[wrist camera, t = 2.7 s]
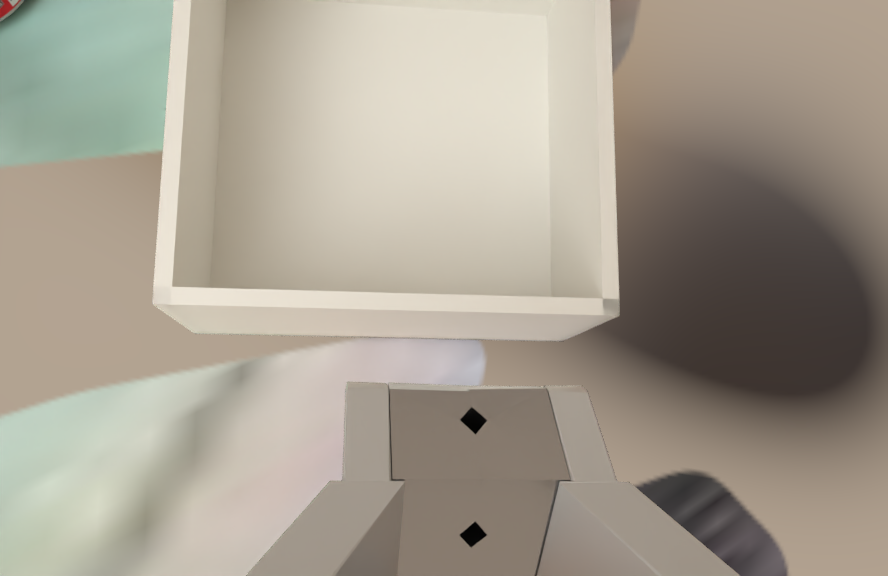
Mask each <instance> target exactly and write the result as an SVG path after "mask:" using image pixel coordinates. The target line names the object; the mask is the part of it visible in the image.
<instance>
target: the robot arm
mask: <svg viewBox="0 0 888 576" xmlns="http://www.w3.org/2000/svg"><path fill="white" fill-rule="evenodd" d="M246 576H740V575H739V574H737V573H736V572H735V571H734V570H733V569H732V568H730V567H729V566H728V565H727V564H726V563H724V562H723V561H722V560H721V559H720V558H719V557H717V556H716V555H715V554H714V553H713V552H711V551H710V550H709V549H708V548H707V547H706V546H704V545H703V544H702V543H701V542H700V541H698V540H697V539H696V538H695V537H694V536H693V535H691V534H690V533H689V532H688V531H687V530H685V529H684V528H683V527H682V526H681V525H679V524H678V523H677V522H676V521H675V520H674V519H672V518H671V517H670V516H669V515H668V514H666V513H665V512H664V511H663V510H662V509H661V508H659V507H658V506H657V505H656V504H655V503H653V502H652V501H651V500H650V499H649V498H648V497H646V496H645V495H644V494H643V493H642V492H640V491H639V490H638V489H637V488H636V487H634V486H633V485H632V484H631V483H630V482H617V479H616V476H615V473H614V470H613V467H612V464H611V460H610V457H609V454H608V451H607V448H606V446H605V442H604V439H603V436H602V433H601V430H600V427H599V424H598V421H597V418H596V415H595V412H594V409H593V406H592V403H591V400H590V396H589V393H588V391H587V390H586V389H585V388H584V387H583V386H544V387H540V386H461V385H436V384H411V383H388V386H387V384H386V383H367V382H347V385H346V390H345V417H344V446H343V476H342V481H329V483H328V484H327V485H326V486H325V487H324V488H323V489H322V491H321V492H320V493H319V494H318V495H317V496H316V497H315V498H314V500H313V501H312V502H311V503H310V504H309V505H308V506H307V507H306V509H305V510H304V511H303V512H302V513H301V514H300V515H299V516H298V518H297V519H296V520H295V521H294V522H293V523H292V524H291V525H290V527H289V528H288V529H287V530H286V531H285V532H284V533H283V534H282V536H281V537H280V538H279V539H278V540H277V541H276V542H275V543H274V545H273V546H272V547H271V548H270V549H269V550H268V551H267V553H266V554H265V555H264V556H263V557H262V558H261V559H260V560H259V562H258V563H257V564H256V565H255V566H254V567H253V568H252V569H251V571H250V572H249V573H248V574H247V575H246Z"/></svg>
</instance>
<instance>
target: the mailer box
mask: <svg viewBox="0 0 888 576" xmlns="http://www.w3.org/2000/svg"><path fill="white" fill-rule="evenodd" d="M156 245H157V246H156V258H155V272H154V287H153V301H152V304H153V305H154V306H156V307H157V308H159V309H160V310H162V311H163V312H165V313H166V314H167V315H169V316H170V317H172V318H173V319H175V320H176V321H177V322H179V323H180V324H182V325H183V326H185V327H186V328H187V329H189V330H190V331H192V332H193V333H195V334H236V335H239V334H240V335H281V336H283V335H285V336H328V337H375V338H422V339H470V340H519V341H565V340H567V339H569V338H571V337H573V336H576V335H578V334H580V333H582V332H585V331H587V330H589V329H591V328H593V327H596V326H598V325H600V324H602V323H604V322H607V321H609V320H611V319H613V318H616V317H618V316H620V309H619V276H618V244H617V211H616V176H615V143H614V111H613V76H612V43H611V10H610V0H174V4H173V18H172V32H171V46H170V60H169V74H168V89H167V103H166V117H165V131H164V145H163V159H162V174H161V188H160V202H159V216H158V231H157V244H156Z"/></svg>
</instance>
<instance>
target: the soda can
mask: <svg viewBox="0 0 888 576" xmlns="http://www.w3.org/2000/svg"><path fill="white" fill-rule="evenodd" d="M23 2H24V0H0V22H1V21H2V20H4V19H5V18H7V17H8V16H9V15H11V14H12V13H13V12H14V11H15V10H16V9H17V8H18V7H19V6H20V5H21V4H22V3H23Z"/></svg>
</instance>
